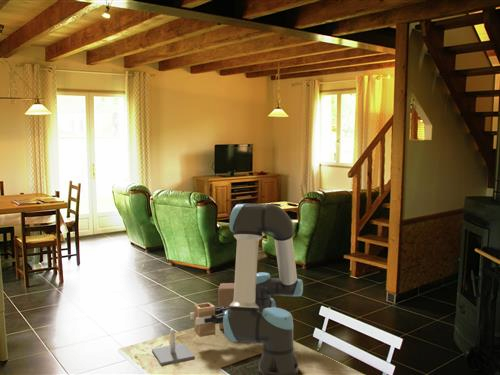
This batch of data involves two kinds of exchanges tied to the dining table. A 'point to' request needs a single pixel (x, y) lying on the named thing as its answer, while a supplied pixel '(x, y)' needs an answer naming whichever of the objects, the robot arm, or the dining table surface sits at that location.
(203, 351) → the dining table surface
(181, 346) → the metal rod stand
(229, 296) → the wooden block
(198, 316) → the wooden tube bead
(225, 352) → the dining table surface
